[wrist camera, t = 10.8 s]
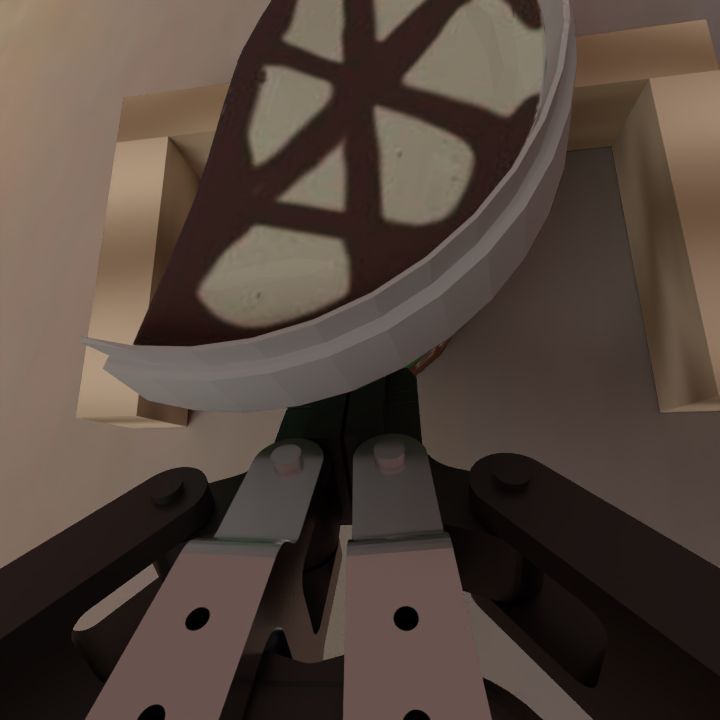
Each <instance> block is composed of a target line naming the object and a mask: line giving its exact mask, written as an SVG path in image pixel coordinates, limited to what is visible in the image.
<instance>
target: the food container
mask: <svg viewBox="0 0 720 720" xmlns="http://www.w3.org/2000/svg"><path fill="white" fill-rule="evenodd" d="M576 66H577V52H576V37H575V21H574V13H573V9H572V6H571V2H570V0H271V2H270V4H269V5H268V7H267V8H266V10H265V12H264V13H263V15H262V16H261V18H260V20H259V21H258V23H257V25H256V27H255V29H254V30H253V32H252V34H251V36H250V38H249V39H248V41H247V43H246V45H245V46H244V48H243V50H242V52H241V55H240V57H239V59H238V62H237V65H236V68H235V71H234V74H233V77H232V80H231V83H230V86H229V89H228V92H227V95H226V98H225V101H224V104H223V108H222V111H221V114H220V118H219V121H218V125H217V128H216V132H215V135H214V139H213V142H212V146H211V149H210V153H209V156H208V159H207V162H206V165H205V169H204V172H203V175H202V178H201V181H200V184H199V187H198V190H197V193H196V196H195V199H194V201H193V204H192V206H191V209H190V211H189V213H188V216H187V218H186V221H185V223H184V225H183V228H182V230H181V233H180V235H179V237H178V240H177V242H176V245H175V247H174V249H173V252H172V254H171V257H170V259H169V261H168V264H167V266H166V269H165V271H164V273H163V276H162V278H161V281H160V283H159V285H158V287H157V290H156V292H155V294H154V297H153V299H152V301H151V303H150V306H149V308H148V310H147V313H146V315H145V317H144V320H143V322H142V324H141V326H140V329H139V331H138V333H137V336H136V338H135V340H134V343H133V345H127V344H122V343H116V342H111V341H105V340H99V339H94V338H88V337H83V336H81V339H80V341H79V342H81V343H83V344H85V345H87V346H89V347H92V348H94V349H96V350H98V351H100V352H102V353H105V354H107V355H109V357H108V359H107V360H106V362H105V365H104V367H103V369H104V370H105V371H107V372H108V373H109V374H111V375H112V376H114V377H115V378H116V379H118V380H119V381H121V382H122V383H124V384H125V385H126V386H128V387H129V388H131V389H132V390H134V391H135V392H136V393H138V394H139V395H141V396H142V397H144V398H145V399H146V400H148V401H152V402H157V403H162V404H167V405H172V406H177V407H181V408H186V409H191V410H205V411H228V412H252V411H260V410H269V409H277V408H285V407H294V406H300V405H304V404H308V403H311V402H315V401H318V400H322V399H325V398H329V397H332V396H336V395H340V394H343V393H347V392H350V391H353V390H356V389H358V388H360V387H362V386H364V385H367V384H369V383H371V382H373V381H375V380H378V379H380V378H382V377H384V376H386V375H388V374H391V373H393V372H395V371H397V370H399V369H402V368H408V369H409V370H410V371H411V372H412V373H413V375H414V376H416V375H417V374H419V373H420V372H421V371H422V370H423V369H424V368H426V367H427V366H428V365H429V364H430V363H431V362H433V361H434V360H435V359H436V358H437V357H438V356H440V355H441V353H442V351H443V350H444V348H445V347H446V345H447V343H448V342H449V340H450V339H451V337H452V335H453V334H454V333H456V332H457V331H458V330H459V329H460V328H461V327H462V326H463V325H464V324H465V323H467V322H468V321H469V320H470V319H471V318H472V317H473V316H474V315H475V314H476V313H478V312H479V311H480V310H481V309H482V308H483V307H484V306H485V305H486V304H488V303H489V302H490V301H491V300H492V299H493V298H494V296H495V295H496V294H497V293H498V291H499V290H500V289H501V288H502V286H503V285H504V284H505V282H506V281H507V280H508V279H509V277H510V276H511V275H512V274H513V272H514V271H515V270H516V269H517V267H518V266H519V265H520V264H521V262H522V261H523V260H524V259H525V257H526V255H527V253H528V252H529V250H530V248H531V246H532V244H533V242H534V241H535V239H536V237H537V235H538V233H539V231H540V230H541V228H542V226H543V224H544V222H545V220H546V219H547V217H548V215H549V213H550V210H551V207H552V204H553V201H554V198H555V195H556V192H557V189H558V186H559V183H560V180H561V177H562V174H563V171H564V166H565V159H566V151H567V144H568V136H569V129H570V120H571V111H572V102H573V93H574V84H575V75H576Z"/></svg>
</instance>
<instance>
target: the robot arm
mask: <svg viewBox="0 0 720 720" xmlns="http://www.w3.org/2000/svg"><path fill="white" fill-rule="evenodd" d="M287 408H288V410H286V413H285V415H284V418H283V421H282V423H281V426H280V429H279V432H278V434H277V437H276V440H275V443H273V444H271V445H269V446H268V447H266V448H265V449H263V450H262V451H261V452H260V453H259V454H258V455H257V456H256V457H255V459H254V461H253V462H252V464H251V466H250V468H249V470H248V471H247V472H245V473H243V474H240V475H237V476H234V477H230V478H227V479H223V480H219V481H216V482H212V483H208V481H207V478H206V476H205V474H204V473H203V472H202V471H200V470H198V469H195V468H191V467H180V468H174V469H170V470H167V471H164V472H162V473H159V474H157V475H155V476H153V477H151V478H150V479H148V480H146V481H145V482H143V483H142V484H140V485H138V486H137V487H135V488H133V489H132V490H130V491H128V492H127V493H125V494H123V495H122V496H120V497H118V498H117V499H115V500H113V501H112V502H110V503H108V504H107V505H105V506H103V507H102V508H100V509H99V510H97V511H95V512H94V513H92V514H90V515H89V516H87V517H85V518H84V519H82V520H80V521H79V522H77V523H75V524H74V525H72V526H70V527H69V528H67V529H65V530H64V531H62V532H60V533H59V534H57V535H56V536H54V537H52V538H51V539H49V540H47V541H46V542H44V543H42V544H41V545H39V546H37V547H36V548H34V549H32V550H31V551H29V552H27V553H26V554H24V555H22V556H21V557H19V558H18V559H16V560H14V561H13V562H11V563H9V564H8V565H6V566H4V567H3V568H1V569H0V720H543V719H541V718H540V717H539V716H538V715H537V714H536V713H535V712H534V711H533V710H532V709H531V708H529V707H528V706H527V705H526V704H525V703H523V702H522V701H521V700H519V699H518V698H517V697H515V696H514V695H513V694H511V693H510V692H509V691H507V690H505V689H504V688H502V687H500V686H498V685H497V684H495V683H493V682H492V681H490V680H487V679H485V678H483V677H482V674H481V669H480V665H479V661H478V656H477V652H476V647H475V643H474V638H473V634H472V630H471V625H470V621H469V616H468V612H467V608H466V603H465V599H464V594H463V591H466V592H469V593H471V596H472V598H473V599H474V601H475V603H476V604H477V605H478V606H479V607H480V608H481V609H482V610H483V611H484V612H485V613H486V614H487V615H488V616H489V617H490V618H491V619H492V620H493V621H494V622H495V623H496V624H497V625H498V626H499V627H500V628H501V629H502V630H503V631H504V632H505V633H506V634H507V635H508V636H509V637H510V638H511V639H512V640H513V641H514V642H515V643H516V644H517V645H518V646H519V647H520V648H521V649H522V650H523V651H524V652H525V653H526V654H527V655H528V656H529V657H530V658H531V659H533V660H534V661H535V662H536V663H537V664H538V665H539V666H540V667H541V668H542V669H543V670H544V671H545V672H546V673H547V674H548V675H549V676H550V677H551V678H552V679H553V680H554V681H555V682H556V683H557V684H558V685H559V686H560V687H561V688H562V689H563V690H564V691H565V692H566V693H567V694H568V695H569V696H570V697H571V698H572V699H573V700H574V701H575V702H576V703H577V704H578V705H579V706H580V707H581V708H582V709H583V710H584V711H585V712H586V713H587V714H588V715H589V716H590V717H591V718H592V719H593V720H720V568H718V567H717V566H715V565H713V564H711V563H710V562H708V561H706V560H705V559H703V558H701V557H699V556H698V555H696V554H694V553H693V552H691V551H689V550H688V549H686V548H684V547H682V546H681V545H679V544H677V543H676V542H674V541H672V540H671V539H669V538H667V537H665V536H664V535H662V534H660V533H659V532H657V531H655V530H654V529H652V528H650V527H648V526H647V525H645V524H643V523H642V522H640V521H638V520H637V519H635V518H633V517H631V516H630V515H628V514H626V513H625V512H623V511H621V510H620V509H618V508H616V507H614V506H613V505H611V504H609V503H608V502H606V501H604V500H602V499H601V498H599V497H597V496H596V495H594V494H592V493H591V492H589V491H587V490H585V489H584V488H582V487H580V486H579V485H577V484H575V483H574V482H572V481H570V480H568V479H567V478H565V477H563V476H562V475H560V474H558V473H557V472H555V471H553V470H551V469H550V468H548V467H546V466H545V465H543V464H541V463H540V462H538V461H536V460H534V459H532V458H529V457H527V456H523V455H519V454H513V453H497V454H492V455H489V456H486V457H484V458H482V459H480V460H479V461H477V462H476V463H475V464H474V465H473V466H472V468H471V470H470V471H466V470H461V469H456V468H452V467H448V466H446V465H443V464H441V463H439V462H437V461H435V460H434V459H433V458H431V457H430V456H429V455H428V454H427V451H426V449H425V447H424V446H423V445H422V438H421V427H420V415H419V403H418V392H417V380H416V377H415V376H414V375H413V373H412V372H411V371H410V370H409V369H408V368H402V369H399V370H397V371H395V372H393V373H391V374H388V375H386V376H384V377H382V378H380V379H378V380H375V381H373V382H371V383H369V384H367V385H364V386H362V387H360V388H358V389H356V390H353V391H350V392H347V393H343V394H340V395H336V396H332V397H329V398H325V399H322V400H318V401H315V402H311V403H308V404H304V405H300V406H294V407H287ZM340 525H352V540H348V544H347V563H346V608H345V654H344V655H342V656H339V657H335V658H331V659H327V660H324V661H323V655H324V645H325V639H326V635H327V630H328V625H329V620H330V615H331V610H332V605H333V600H334V595H335V590H336V585H337V580H338V575H339V571H340V566H341V561H342V550H341V545H340V539H339V532H340ZM152 563H153V565H154V568H155V570H156V572H157V574H158V576H159V577H158V578H157V579H156V580H154V581H153V582H152V583H150V584H149V585H148V586H147V587H145V588H144V589H143V590H141V591H140V592H139V593H137V594H136V595H135V596H133V597H132V598H131V599H129V600H128V601H127V602H125V603H124V604H123V605H121V606H120V607H119V608H117V609H116V610H115V611H114V612H112V613H111V614H110V615H108V616H107V617H106V618H104V619H103V620H102V621H100V622H99V623H98V624H96V625H95V626H93V627H91V628H89V629H87V630H83V631H74V630H73V628H74V626H75V624H76V622H77V621H78V620H79V618H80V617H81V616H82V615H83V614H84V613H85V612H86V611H88V610H89V609H90V608H92V607H93V606H94V605H96V604H97V603H99V602H100V601H101V600H103V599H104V598H105V597H107V596H108V595H109V594H111V593H112V592H114V591H115V590H116V589H118V588H119V587H120V586H122V585H123V584H125V583H126V582H127V581H129V580H130V579H131V578H133V577H134V576H135V575H137V574H138V573H140V572H141V571H142V570H144V569H145V568H146V567H148V566H149V565H151V564H152Z"/></svg>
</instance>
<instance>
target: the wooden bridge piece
mask: <svg viewBox="0 0 720 720" xmlns="http://www.w3.org/2000/svg"><path fill="white" fill-rule="evenodd" d="M576 52H577V66H576V75H575V84H574V93H573V102H572V111H571V120H570V129H569V136H568V144H567V151H572V150H582V149H591V148H601V147H612V153H613V158H614V164H615V169H616V174H617V180H618V185H619V191H620V196H621V202H622V207H623V213H624V218H625V223H626V229H627V234H628V240H629V245H630V251H631V256H632V262H633V267H634V272H635V278H636V283H637V289H638V294H639V300H640V305H641V311H642V316H643V322H644V327H645V332H646V338H647V343H648V349H649V354H650V360H651V365H652V371H653V376H654V381H655V387H656V392H657V398H658V403H659V409H660V413H662V412H695V411H720V69H719V65H718V62H717V58H716V54H715V51H714V47H713V43H712V40H711V36H710V32H709V28H708V25H707V21H706V19H704V20H697V21H690V22H682V23H675V24H667V25H660V26H652V27H645V28H637V29H630V30H623V31H615V32H608V33H600V34H593V35H585V36H578V37H576ZM229 86H230V83H228V84H220V85H213V86H205V87H198V88H191V89H183V90H176V91H168V92H161V93H153V94H146V95H138V96H131V97H124V98H123V103H122V110H121V117H120V124H119V130H118V137H117V144H116V151H115V157H114V164H113V171H112V178H111V184H110V191H109V198H108V205H107V211H106V218H105V225H104V232H103V238H102V245H101V252H100V258H99V265H98V272H97V279H96V285H95V292H94V299H93V306H92V312H91V319H90V326H89V333H88V338H94V339H99V340H105V341H111V342H116V343H122V344H127V345H133V343H134V340H135V338H136V336H137V333H138V331H139V329H140V326H141V324H142V322H143V320H144V317H145V315H146V313H147V310H148V308H149V306H150V303H151V301H152V299H153V297H154V294H155V292H156V290H157V287H158V285H159V283H160V281H161V278H162V276H163V273H164V271H165V269H166V266H167V264H168V261H169V259H170V257H171V254H172V252H173V249H174V247H175V245H176V242H177V240H178V237H179V235H180V233H181V230H182V228H183V225H184V223H185V221H186V218H187V216H188V213H189V211H190V209H191V206H192V204H193V201H194V199H195V196H196V193H197V190H198V187H199V184H200V181H201V178H202V175H203V172H204V169H205V165H206V162H207V159H208V156H209V153H210V149H211V146H212V142H213V139H214V135H215V132H216V128H217V125H218V121H219V118H220V114H221V111H222V108H223V104H224V101H225V98H226V95H227V92H228V89H229ZM108 357H109V355H107V354H105V353H102V352H100V351H98V350H96V349H94V348H92V347H89V346H86V353H85V360H84V366H83V373H82V380H81V387H80V393H79V400H78V407H77V413H76V418H79V419H85V420H91V421H96V422H102V423H108V424H113V425H119V426H125V427H131V428H167V427H187V418H188V409H186V408H181V407H177V406H172V405H167V404H162V403H157V402H152V401H148V400H146V399H145V398H144V397H142V396H141V395H139V394H138V393H136V392H135V391H134V390H132V389H131V388H129V387H128V386H126V385H125V384H124V383H122V382H121V381H119V380H118V379H116V378H115V377H114V376H112V375H111V374H109V373H108V372H107V371H105V370H104V369H103V367H104V365H105V362H106V360H107V359H108Z"/></svg>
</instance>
